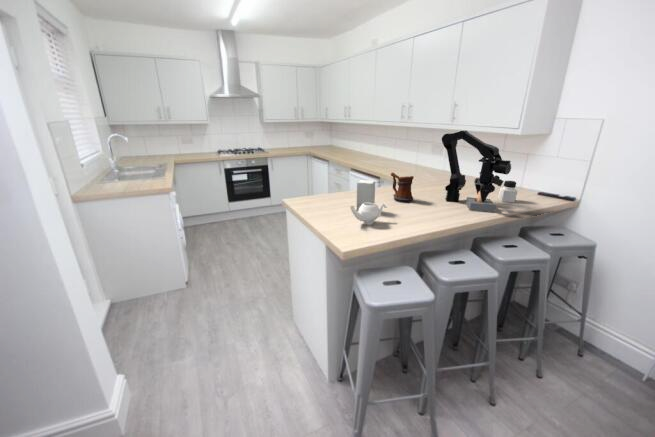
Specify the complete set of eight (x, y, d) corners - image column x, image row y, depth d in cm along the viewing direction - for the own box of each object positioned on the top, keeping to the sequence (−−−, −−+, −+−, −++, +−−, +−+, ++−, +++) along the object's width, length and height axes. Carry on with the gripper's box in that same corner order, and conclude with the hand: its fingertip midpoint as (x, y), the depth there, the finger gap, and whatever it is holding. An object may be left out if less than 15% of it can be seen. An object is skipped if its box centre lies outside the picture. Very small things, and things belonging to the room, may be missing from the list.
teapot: (391, 223, 136) (393, 204, 132) (354, 229, 128) (355, 209, 124) (379, 216, 144) (381, 198, 141) (344, 222, 136) (345, 203, 132)
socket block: (469, 210, 156) (470, 203, 154) (465, 203, 167) (466, 197, 165) (494, 212, 153) (495, 205, 151) (488, 205, 164) (490, 199, 162)
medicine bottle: (514, 202, 170) (519, 182, 166) (501, 201, 172) (506, 182, 168) (510, 199, 177) (514, 180, 173) (497, 198, 178) (501, 179, 174)
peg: (476, 208, 158) (479, 192, 155) (474, 206, 162) (477, 191, 159) (484, 209, 157) (487, 193, 154) (482, 207, 161) (485, 191, 158)
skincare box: (374, 209, 154) (376, 180, 149) (370, 213, 148) (372, 183, 143) (359, 207, 157) (361, 179, 152) (355, 210, 152) (356, 181, 146)
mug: (382, 196, 179) (384, 172, 174) (396, 194, 184) (399, 170, 179) (402, 204, 164) (405, 178, 159) (417, 201, 170) (420, 176, 164)
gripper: (509, 175, 142) (502, 206, 148) (498, 169, 159) (492, 196, 165) (484, 174, 145) (478, 204, 150) (476, 167, 162) (471, 194, 167)
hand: (480, 199), depth 158 cm, fingers open, 9 cm apart
